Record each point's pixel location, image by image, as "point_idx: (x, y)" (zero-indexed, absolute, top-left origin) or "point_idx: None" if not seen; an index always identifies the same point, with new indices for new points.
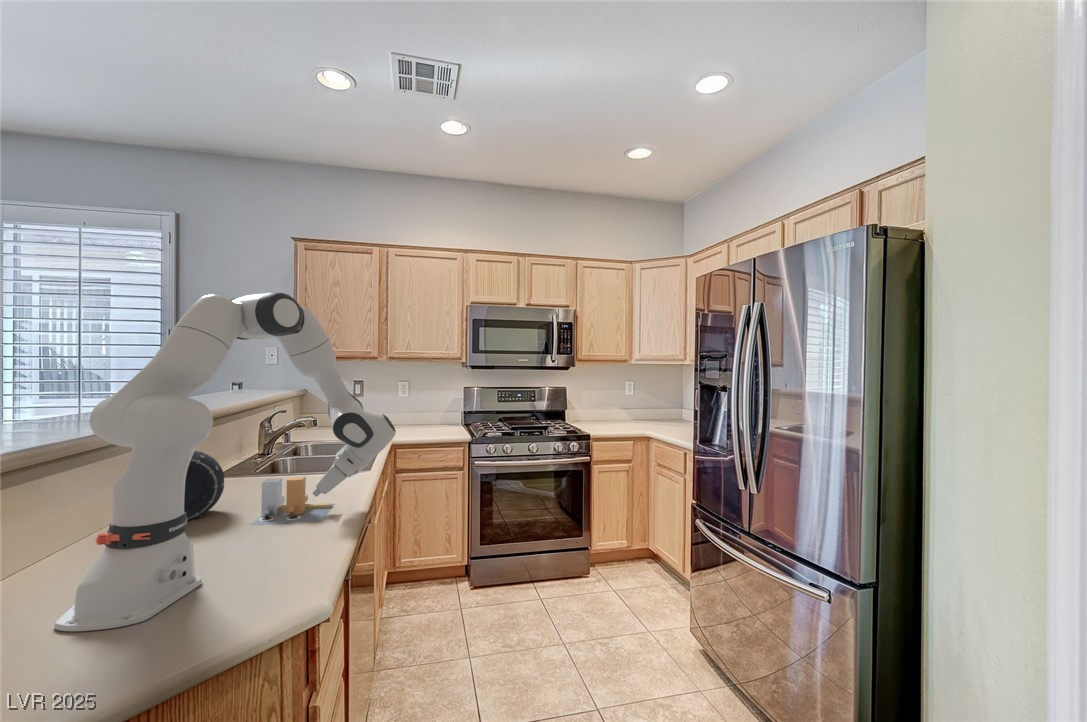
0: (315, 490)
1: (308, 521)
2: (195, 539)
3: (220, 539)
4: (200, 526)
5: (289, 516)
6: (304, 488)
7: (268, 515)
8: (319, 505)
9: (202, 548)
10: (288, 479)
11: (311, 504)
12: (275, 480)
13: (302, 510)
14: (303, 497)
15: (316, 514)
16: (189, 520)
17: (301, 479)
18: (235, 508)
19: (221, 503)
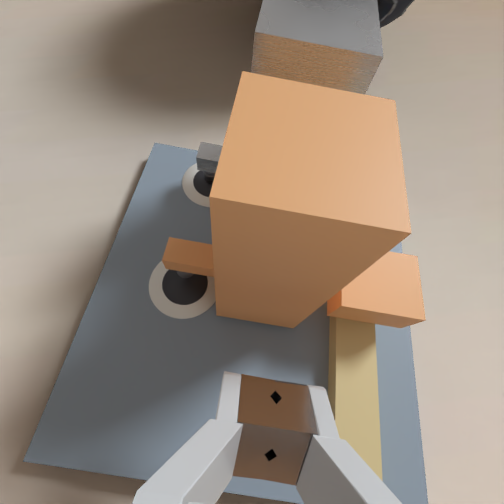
0: (218, 402)
1: (70, 370)
2: (130, 56)
3: (91, 98)
4: (251, 55)
5: None
6: (310, 280)
7: (208, 178)
8: (334, 414)
9: (27, 72)
10: (283, 82)
11: (359, 357)
12: (309, 24)
13: (243, 316)
14: (271, 298)
15: (202, 406)
16: None
17: (237, 192)
18: (418, 104)
19: (470, 75)
